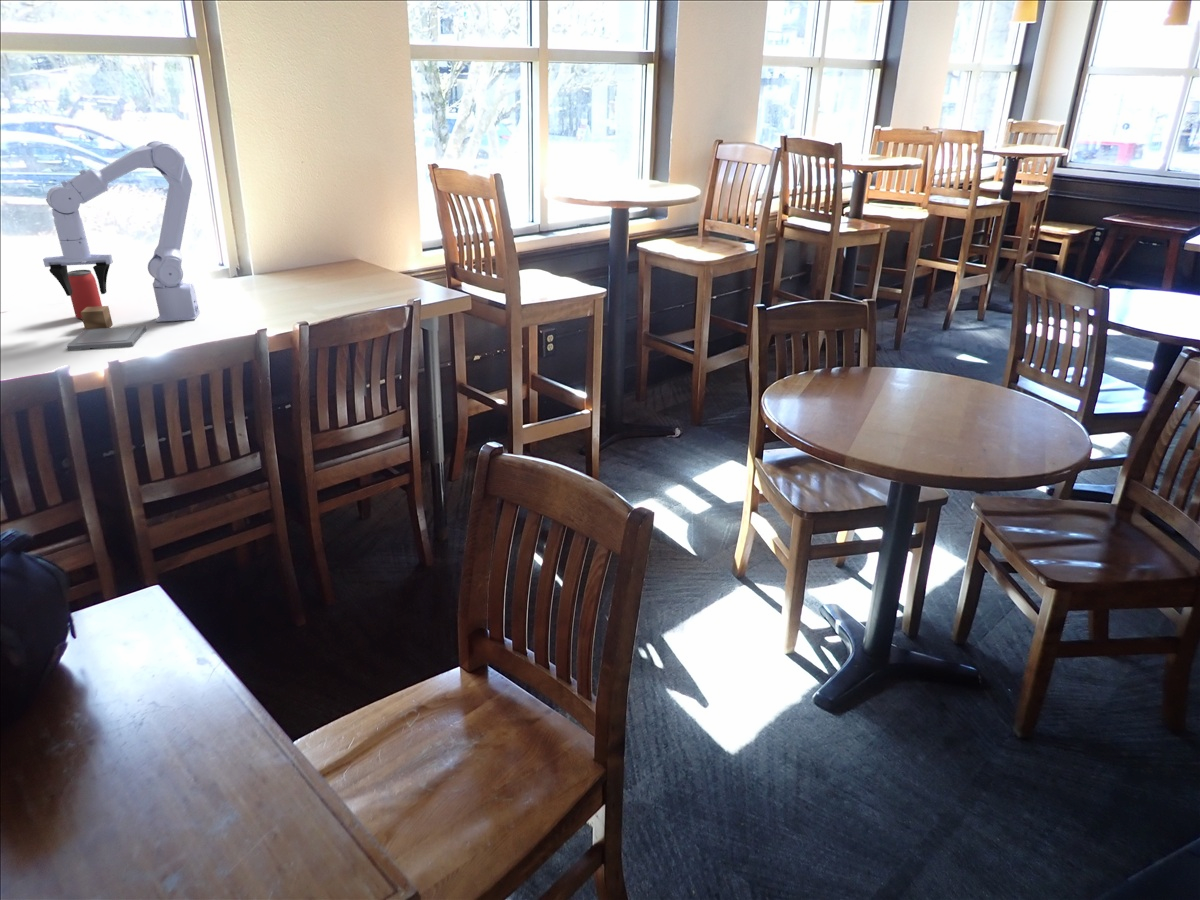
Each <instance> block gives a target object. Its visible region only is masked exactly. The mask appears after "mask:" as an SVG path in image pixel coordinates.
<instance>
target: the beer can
mask: <svg viewBox="0 0 1200 900" xmlns="http://www.w3.org/2000/svg"><path fill="white" fill-rule="evenodd" d="M67 272H68V278H69V282H70V285H71V288H72V293H73V294H72V295H70V296H69V297H70V299H71V304H72V308H73V310H74V314H75V318H76V319H78V320H83V319H82V316H81V311H83V310H84V309H85V308H86V307H97V306H103V304H102V300H101V296H100V293H99V289H98V288H99V287H98V284H97V281H96V278H95V276H94V274H93V273H92V271H91V270H90V269H74V270H71V271H67Z"/></svg>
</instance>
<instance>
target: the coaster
mask: <svg viewBox="0 0 1200 900" xmlns="http://www.w3.org/2000/svg"><path fill="white" fill-rule="evenodd" d="M146 331H147V327H146V325H138V326H137V325H135V326H121V327H119V326H118V327H110V328H100V329H85V328H84V329H83V330H82V331H81V332H80V333H79V334H78V335H77V336H76V337H75V338H74V339H73V340H72V341H71V342H70V343H68V345H67V346H66V348H67V351H72V350H71V349H82V350H91V349H90V348H97V349H107V348H108V349H109V348H110V347H112V348H125V347H127V348H128V347H134V346H135V345H136V343H137V342H138V341H139V340H140V338H141V337H142V335H144V333H145V332H146ZM110 349H111V348H110Z"/></svg>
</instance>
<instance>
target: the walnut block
mask: <svg viewBox="0 0 1200 900" xmlns="http://www.w3.org/2000/svg"><path fill="white" fill-rule="evenodd" d="M111 315H112V314H111V311H110V308H109V305H102V306H97V307H86V308H85V309H84V310H83V311H81V316H82V319H81V320H82V322H83V323H82V324H83V326H84V329H100V328H112V326H113V324H114V323H113V320H112V316H111Z"/></svg>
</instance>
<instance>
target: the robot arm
mask: <svg viewBox="0 0 1200 900" xmlns="http://www.w3.org/2000/svg"><path fill="white" fill-rule="evenodd" d="M185 161H186V160H185V157H184V155H183V154H181V152H180V151H179V150H178V149H177V148H176V147H175V146H174V145H172V144H170V143H164V142H162V141H159V140H158V141H155V140H153V141H150V142H148V143H147V144H146V145H145V144H144V145H141V146H139V147H137V148H134V149H132V150H130V151H129V152H128V153H126V154H124V155H122V156H121V157H119V158H118V159H116V160H114V161H113V162H111V163H109V164H108V165H106V166H105V167H103V168H101V169H100V170H96V169H92V168H89V169H87V170H86V169H84V168H82V169H81V170H79V172H78V173H79V174H78V175H76V176H75V177H72V178H71V179H69V180H67V181H66V180H62V181H60V184H61V185H62V186H61V185H59V186H58V185H57V186H53V187H51V188H50V189H49V190H48V191H47V193H46V198H45V202H46V203H47V205H48V206H49V207H50V208H51V212H52V216H53V222H54V226H55V230H56V233H57V238H58V241H59V244H60V247H61V248H60V249H61V252H62V255H61V256H60V255H59V256H47V257H44V258H43V259H42V261H43V265H44V268H49V270H48V271H49V273H50V274H51V275H52V276H53V277H54V278H55V279H56V280H57V281H58V283H59V284H60V286H61V287H62V289H63V291H64V292H65V294H66V297H68V296H69V297H70V295H72V294H73V293H72V288H71V285H70V282H69V278H68V272H69V271H68V266H83V265H94V266H93V267H92V268H93V271H94V273H95V276H96V279H97V282H98V288H99V291H100V294H101V295H105V294H107V277H108V275H109V274H108V272H109V269H110V266H111V265H112V263H113V258H112V254H93V253H92V254H91V251H90V247H89V243H88V239H87V236H86V232H85V228H84V224H83V220H82V217H81V215H80V214H81V213H80V211H79V209H80V206H81V204H82V205H83V204H85V203H88V202H89V201H91V200H93V199H94V198H97V197H98V196H100V195H102V194H103V193H105V192H107V191H108V187H109V184H110V183H111V182H113V181H115V180H117V179H119V178H121V177H123V176H124V175H127V174H129V173H131V172H133V171H135V170H138V169H155V170H157V171H158V172H159V173H160V174H161V175H162V177H163V178H164V179H165V180H166V182H167V183H168V189H167V194H166V201H165V206H164V210H163V211H164V212H163V215H162V216H163V218H162V223H161V228H160V234H159V240H158V244H157V246H156V248H155V249H154V253H153V256H152V257H151V258H150V259H149V261H148V264H147V270H148V273H149V275H150V276H151V277H152V278H153V283H152V288H153V292H154V297H155V301H156V304H157V305H156V306H157V309H158V314H159V315H158V316H157V318H156V319H155V322H156V323H159V322H160V323H161V322H176V321H181V322H182V321H193V320H196V319H197V317H198V316H199V314H200V310H199V308H200V307H199V303H198V300H197V294H196V289H195V287H194V284H193V283H185V282H184V280H183V277H184V271H183V268H182V261H183V259H182V258H183V257H182V253H181V247H182V241H183V238H184V230H185V225H186V219H187V215H188V208H189V203H190V198H191V193H192V189H193V179H192V178H191V174H190V173H189V172H190V171H189V170H188V167H187V164H186V162H185Z"/></svg>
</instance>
